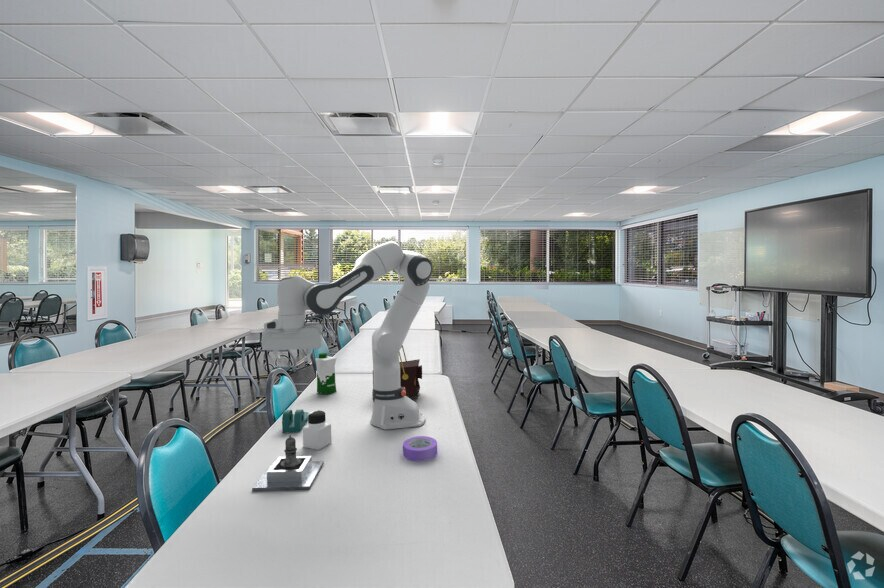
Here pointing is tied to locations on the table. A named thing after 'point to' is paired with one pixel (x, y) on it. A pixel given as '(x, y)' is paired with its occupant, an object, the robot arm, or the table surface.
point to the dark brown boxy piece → (410, 375)
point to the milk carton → (325, 374)
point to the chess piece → (290, 455)
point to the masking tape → (420, 448)
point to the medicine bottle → (316, 431)
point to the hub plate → (289, 476)
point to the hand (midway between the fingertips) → (293, 362)
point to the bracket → (294, 421)
